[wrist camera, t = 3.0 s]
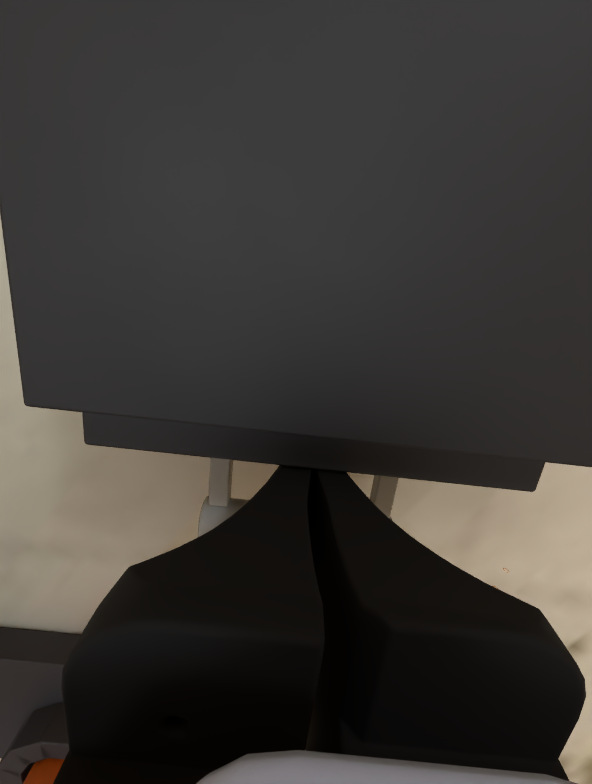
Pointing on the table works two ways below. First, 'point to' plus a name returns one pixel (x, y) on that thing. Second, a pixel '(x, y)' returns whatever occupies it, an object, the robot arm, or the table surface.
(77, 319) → the dark grey cube
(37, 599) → the table surface
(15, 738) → the control block
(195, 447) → the drawer
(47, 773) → the button
